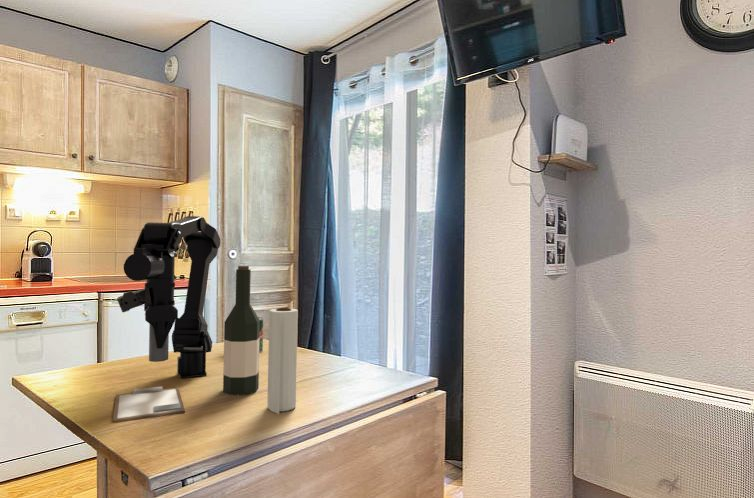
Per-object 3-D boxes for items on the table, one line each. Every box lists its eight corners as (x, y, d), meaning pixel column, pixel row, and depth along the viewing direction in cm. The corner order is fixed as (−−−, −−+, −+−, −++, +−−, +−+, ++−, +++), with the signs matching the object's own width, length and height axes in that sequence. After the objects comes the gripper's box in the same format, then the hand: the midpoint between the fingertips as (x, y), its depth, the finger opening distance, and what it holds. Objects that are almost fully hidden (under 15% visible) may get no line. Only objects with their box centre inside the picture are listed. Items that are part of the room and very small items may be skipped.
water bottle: (167, 356, 108) (168, 313, 108) (169, 360, 104) (169, 315, 104) (148, 358, 106) (149, 313, 106) (148, 362, 102) (149, 316, 102)
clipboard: (178, 389, 111) (178, 384, 111) (184, 412, 96) (185, 406, 96) (116, 396, 105) (116, 391, 105) (113, 422, 90) (113, 416, 90)
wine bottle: (265, 387, 114) (268, 266, 114) (245, 397, 106) (248, 267, 106) (237, 383, 117) (239, 265, 117) (215, 393, 109) (217, 266, 109)
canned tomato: (243, 348, 156) (244, 316, 156) (266, 349, 156) (266, 317, 156) (234, 353, 148) (234, 319, 148) (257, 355, 148) (258, 320, 148)
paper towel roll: (280, 401, 104) (282, 306, 104) (301, 406, 101) (303, 308, 101) (257, 410, 98) (259, 309, 98) (278, 416, 95) (281, 312, 95)
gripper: (121, 275, 109) (120, 341, 110) (118, 281, 93) (117, 358, 93) (172, 274, 115) (171, 337, 115) (178, 280, 98) (177, 354, 98)
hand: (159, 346), depth 105 cm, fingers closed on water bottle, 4 cm apart
